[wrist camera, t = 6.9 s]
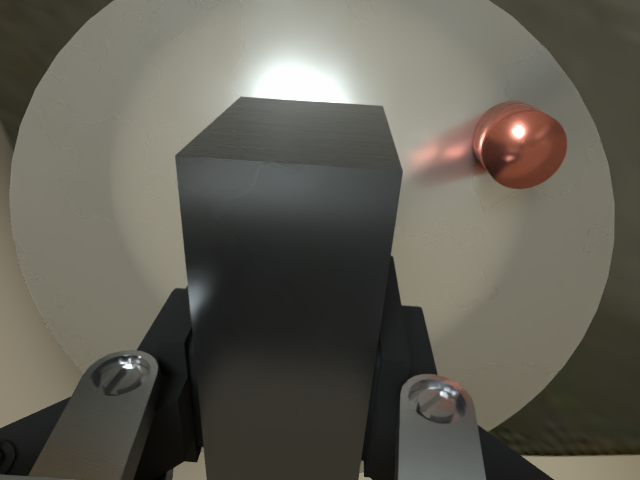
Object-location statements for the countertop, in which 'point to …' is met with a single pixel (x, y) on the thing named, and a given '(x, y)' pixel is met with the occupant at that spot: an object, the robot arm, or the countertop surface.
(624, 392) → the countertop surface
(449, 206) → the lid
